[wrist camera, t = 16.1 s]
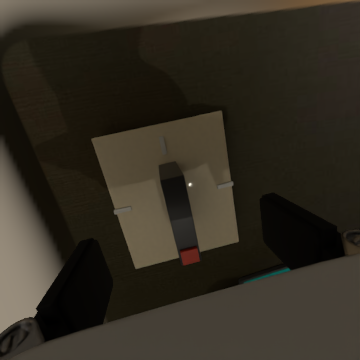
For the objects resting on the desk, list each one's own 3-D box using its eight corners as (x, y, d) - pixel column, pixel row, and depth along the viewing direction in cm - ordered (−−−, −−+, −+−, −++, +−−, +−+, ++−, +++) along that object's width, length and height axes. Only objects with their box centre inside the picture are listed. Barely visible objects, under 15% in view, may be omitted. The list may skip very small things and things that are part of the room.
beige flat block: (100, 136, 17) (88, 139, 14) (211, 112, 17) (224, 109, 14) (137, 249, 20) (134, 270, 17) (228, 225, 21) (240, 242, 18)
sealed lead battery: (158, 164, 15) (160, 181, 10) (175, 160, 15) (184, 176, 10) (174, 230, 17) (181, 268, 12) (189, 226, 17) (202, 263, 12)
